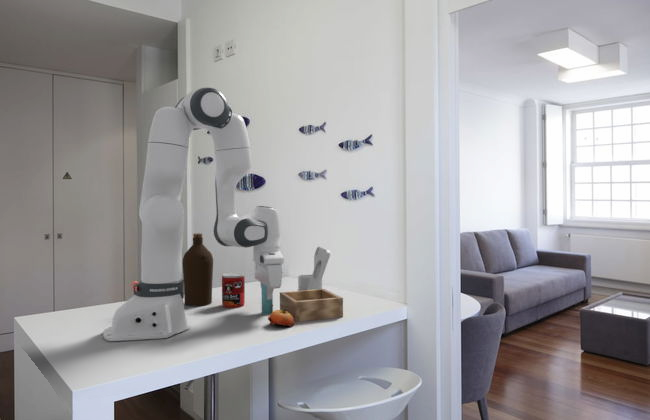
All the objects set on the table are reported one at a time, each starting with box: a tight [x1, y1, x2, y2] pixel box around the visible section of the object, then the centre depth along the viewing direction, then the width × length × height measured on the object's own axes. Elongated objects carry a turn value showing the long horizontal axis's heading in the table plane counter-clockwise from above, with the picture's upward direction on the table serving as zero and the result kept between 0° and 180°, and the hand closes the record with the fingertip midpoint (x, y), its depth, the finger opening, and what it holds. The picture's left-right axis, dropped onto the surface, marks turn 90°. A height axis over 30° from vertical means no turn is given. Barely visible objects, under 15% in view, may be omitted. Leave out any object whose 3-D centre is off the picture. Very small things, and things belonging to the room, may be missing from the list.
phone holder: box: [297, 246, 331, 291], centre depth 183 cm, size 17×10×18 cm, turn 14°
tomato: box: [267, 308, 295, 328], centre depth 139 cm, size 8×7×7 cm
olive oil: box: [182, 232, 214, 307], centre depth 167 cm, size 11×11×25 cm
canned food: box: [221, 272, 246, 309], centre depth 164 cm, size 8×8×11 cm
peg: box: [261, 283, 274, 315], centre depth 153 cm, size 4×4×12 cm
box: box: [279, 288, 344, 323], centre depth 153 cm, size 16×16×6 cm
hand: (267, 297), depth 153 cm, fingers closed on peg, 4 cm apart
